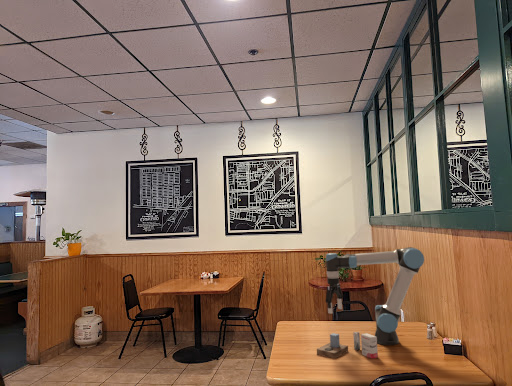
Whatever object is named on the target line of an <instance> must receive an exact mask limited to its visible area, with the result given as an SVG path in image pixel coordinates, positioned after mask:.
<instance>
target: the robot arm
mask: <svg viewBox="0 0 512 386" xmlns="http://www.w3.org/2000/svg"><path fill="white" fill-rule="evenodd" d="M394 263H396V264H397V265H398V267H399V270H398V272H397V275H396V278H395V280H394V283H393V285H392V287H391V289H390V293H389V295H388V297H387V299H386V302H385V304H377V305H375V307H374V313H375V326H376V329H375V333H374V336H376V337H377V344H378V345H385V346H392V345H393V346H394V345H398V344H399V343H400V341H399V340H400V339H399V336H398V334H397V331H396V330H397V328H398V325H399V320H400V318H401V315H402V314H401V311H400V310H401V307H402V305H403V302H404V300H405V298H406V295H407V293H408V291H409V288H410V285H411V284H412V280H413V278H414V276H415V275H416V274H418V273H419V271H420V268H421V267H422V266H423V265H424V263H425V256H424V253H423V252H422V251H421V250H419V249H418V248H416V247H412V246H411V247H410V246H409V247H404V248H397V249H396V248H395V250H392V251H391V250H389V251H377V252H365V253H362V252H361V253H353V254H350V253H346V254H344V255H343V256H339V255H338V254H337V253H335V252H334V253H333V252H332V253H331V252H330V253H326V254H325V265H326V276H327V279H326V280H327V284H328V285H329V286H326V295H325V303H326V304H327V313H328V314H332V315H333V311H334V310H333V302H332V301H333V297H334V294H335V296H336V297H337V299H336V300H337V309H338V310H343V301H342V300H343V299H344V294H343V292H342V288H341V283H340V278H339V277H340V273H339V272H340V271H339V269H355V268H357V267H358V266H363V265H381V264H394Z"/></svg>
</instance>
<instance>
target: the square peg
mask: <svg viewBox="0 0 512 386" xmlns="http://www.w3.org/2000/svg"><path fill="white" fill-rule="evenodd" d="M329 341H330V342H329V343H330V346H331V347H333V348H338V347H340V334H339V333H335V332H333V333H330V334H329Z"/></svg>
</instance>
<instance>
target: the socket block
mask: <svg viewBox="0 0 512 386" xmlns="http://www.w3.org/2000/svg"><path fill="white" fill-rule="evenodd" d="M348 351H349V346H348V345H346V344H340V347H338V348H333V347H331V346H330V342H329V343H326V344H325V345H323V346H320V347H318V348H316V355H318V356H323V357H327V358H330V359H331V358H332V359H337V358H339V357H340V356H342V355H344V354H346V353H348Z"/></svg>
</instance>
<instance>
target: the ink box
mask: <svg viewBox="0 0 512 386" xmlns="http://www.w3.org/2000/svg"><path fill="white" fill-rule="evenodd" d="M360 345H361V355H363V357H366V358H370V359H376V358H378V357H379V354H378V343H377V337H376V336H375V335H373V334H370V333H361V334H360Z"/></svg>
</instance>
